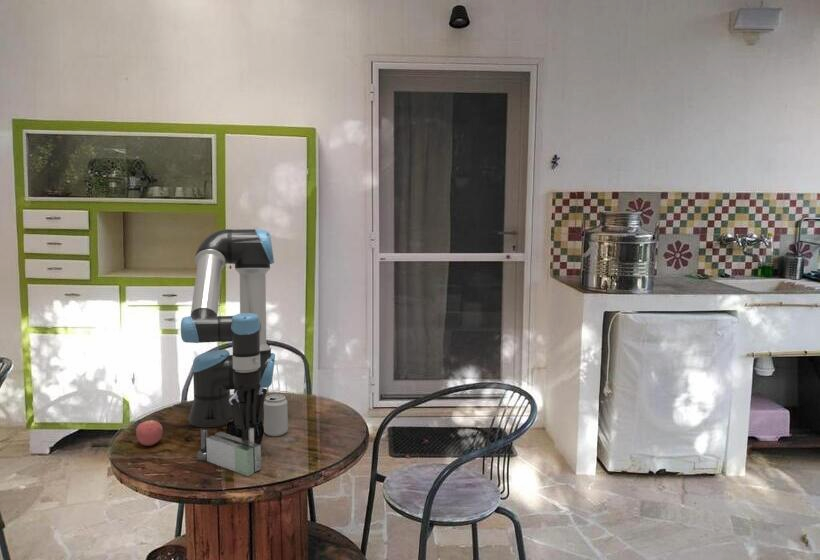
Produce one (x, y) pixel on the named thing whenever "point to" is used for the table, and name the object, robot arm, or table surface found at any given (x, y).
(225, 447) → the base
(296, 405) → the table surface
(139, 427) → the apple
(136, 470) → the table surface
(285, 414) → the can
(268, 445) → the table surface
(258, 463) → the tong jaw
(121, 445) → the table surface
